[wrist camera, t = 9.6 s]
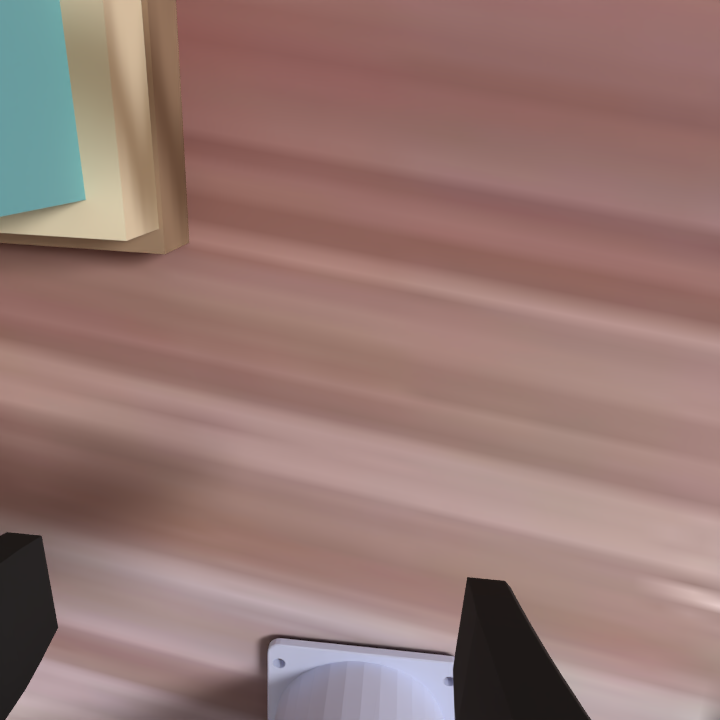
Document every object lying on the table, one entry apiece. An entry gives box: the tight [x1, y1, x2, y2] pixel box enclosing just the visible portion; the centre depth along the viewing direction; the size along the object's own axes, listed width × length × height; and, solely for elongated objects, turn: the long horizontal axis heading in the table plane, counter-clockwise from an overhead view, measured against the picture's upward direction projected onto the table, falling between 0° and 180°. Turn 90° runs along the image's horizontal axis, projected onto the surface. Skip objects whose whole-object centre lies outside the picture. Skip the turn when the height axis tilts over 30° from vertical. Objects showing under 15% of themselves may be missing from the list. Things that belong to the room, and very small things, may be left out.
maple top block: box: [0, 0, 159, 241], centre depth 14 cm, size 6×6×2 cm
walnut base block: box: [0, 0, 189, 254], centre depth 16 cm, size 8×8×2 cm
